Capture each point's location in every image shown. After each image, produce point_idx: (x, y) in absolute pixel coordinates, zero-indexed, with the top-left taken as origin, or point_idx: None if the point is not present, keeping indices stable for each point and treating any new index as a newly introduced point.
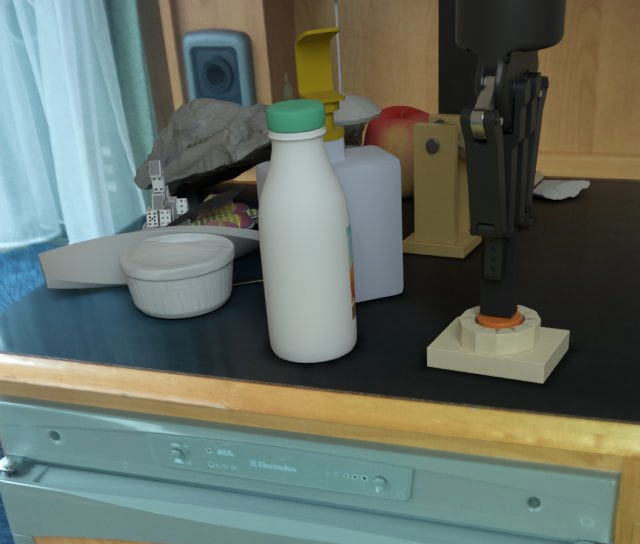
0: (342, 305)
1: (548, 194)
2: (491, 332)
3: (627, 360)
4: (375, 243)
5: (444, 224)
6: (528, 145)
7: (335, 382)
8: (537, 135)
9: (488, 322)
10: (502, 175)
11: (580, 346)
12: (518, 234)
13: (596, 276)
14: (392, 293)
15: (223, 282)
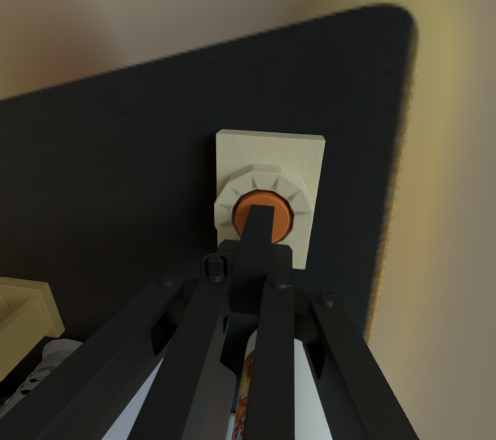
0: (301, 365)
1: None
2: (307, 218)
3: (229, 44)
4: (155, 375)
5: (25, 321)
6: (89, 396)
7: (352, 317)
8: (45, 405)
9: (287, 228)
10: (379, 424)
11: (207, 116)
12: (248, 266)
13: (9, 145)
14: None
15: (231, 432)
